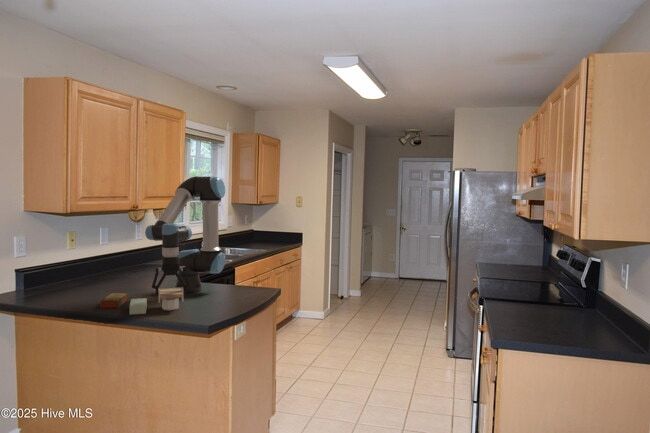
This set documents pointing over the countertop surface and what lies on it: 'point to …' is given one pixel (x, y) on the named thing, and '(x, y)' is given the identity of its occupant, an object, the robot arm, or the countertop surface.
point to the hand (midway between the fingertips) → (171, 301)
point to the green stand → (138, 306)
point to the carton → (113, 300)
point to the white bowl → (170, 304)
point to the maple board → (170, 293)
